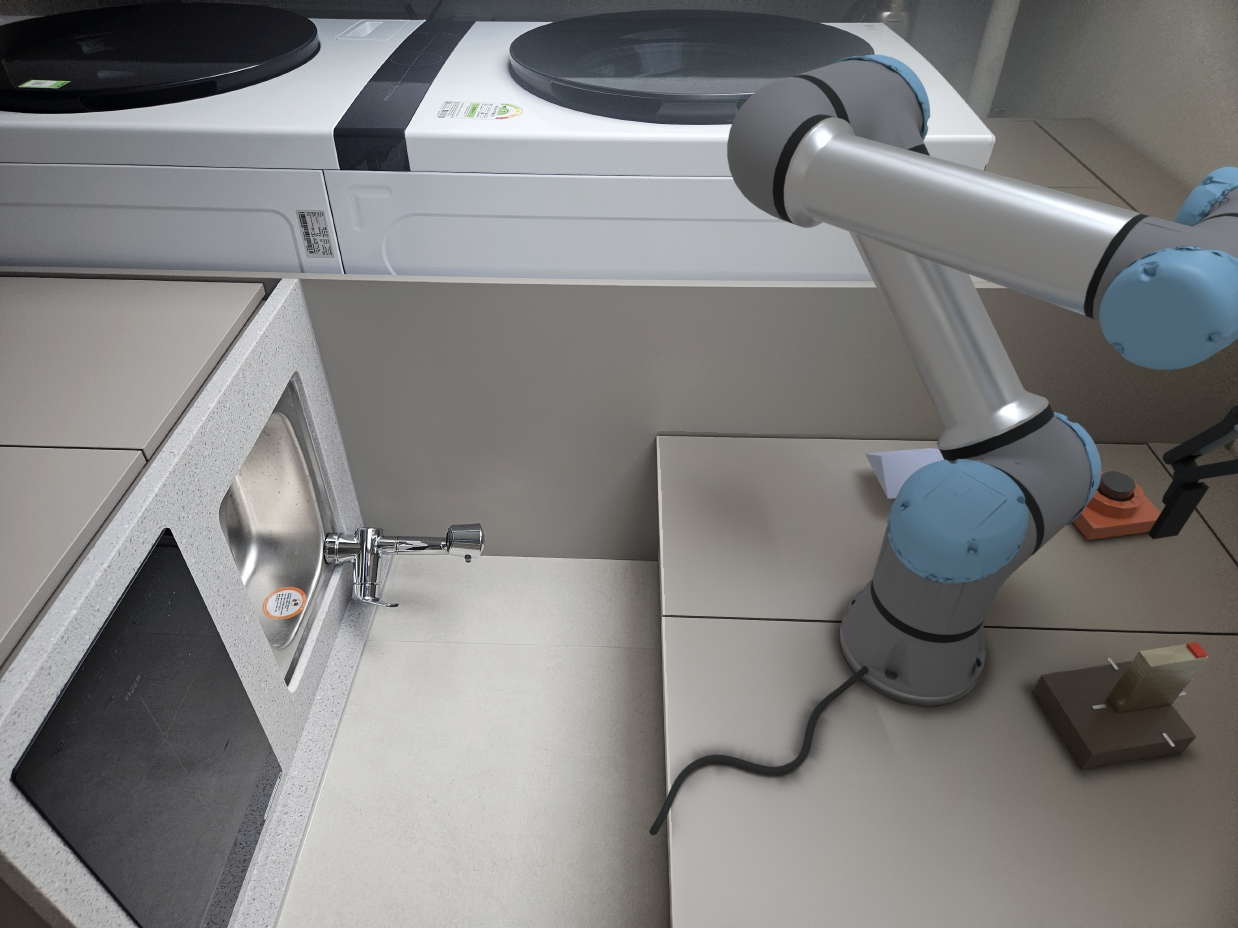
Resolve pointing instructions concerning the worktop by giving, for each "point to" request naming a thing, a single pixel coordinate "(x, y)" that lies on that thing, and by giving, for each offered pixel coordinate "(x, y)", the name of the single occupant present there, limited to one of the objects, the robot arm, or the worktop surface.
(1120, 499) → the button
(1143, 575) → the worktop surface
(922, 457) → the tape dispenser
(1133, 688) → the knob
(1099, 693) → the panel
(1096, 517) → the button box
